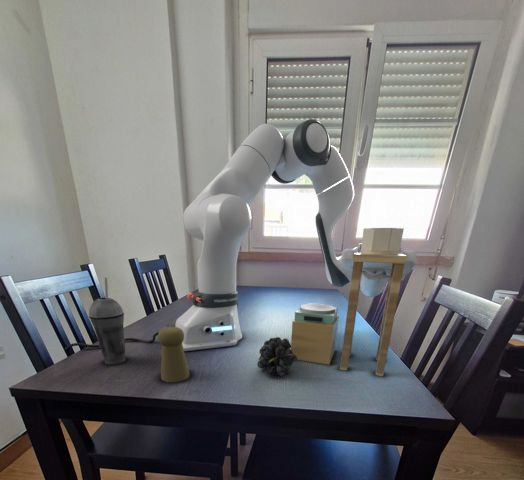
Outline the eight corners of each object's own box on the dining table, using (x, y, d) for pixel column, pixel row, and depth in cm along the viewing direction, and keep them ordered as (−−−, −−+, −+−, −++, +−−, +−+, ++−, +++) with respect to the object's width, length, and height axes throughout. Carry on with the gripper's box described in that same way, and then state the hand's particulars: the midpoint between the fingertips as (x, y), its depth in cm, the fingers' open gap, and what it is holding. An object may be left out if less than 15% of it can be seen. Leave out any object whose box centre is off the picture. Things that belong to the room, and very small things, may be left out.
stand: (384, 376, 63) (407, 255, 54) (338, 369, 67) (353, 254, 57) (383, 358, 74) (402, 253, 64) (343, 353, 77) (356, 252, 68)
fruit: (268, 321, 71) (265, 339, 57) (299, 332, 72) (303, 353, 58) (257, 351, 74) (251, 375, 60) (286, 362, 75) (287, 388, 61)
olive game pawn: (155, 379, 60) (148, 330, 56) (171, 368, 66) (166, 323, 62) (179, 384, 59) (174, 333, 55) (194, 372, 64) (190, 325, 60)
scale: (329, 364, 69) (335, 313, 65) (290, 358, 73) (293, 309, 68) (334, 351, 78) (340, 304, 73) (299, 346, 81) (302, 301, 77)
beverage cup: (94, 360, 69) (76, 277, 62) (124, 353, 74) (110, 275, 67) (105, 369, 65) (87, 280, 57) (136, 360, 70) (123, 278, 62)
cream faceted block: (399, 254, 57) (404, 227, 55) (359, 253, 60) (363, 227, 58) (394, 252, 74) (398, 231, 72) (363, 251, 76) (366, 231, 74)
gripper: (343, 258, 93) (341, 235, 80) (411, 261, 86) (422, 236, 73) (340, 276, 92) (338, 255, 79) (409, 280, 85) (419, 258, 72)
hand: (379, 246), depth 76 cm, fingers open, 8 cm apart
